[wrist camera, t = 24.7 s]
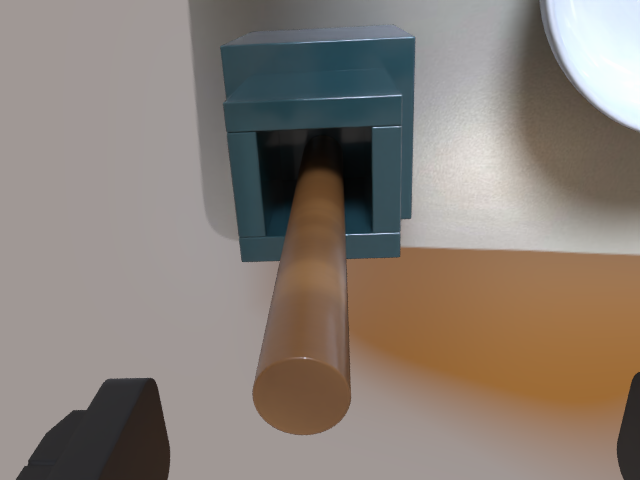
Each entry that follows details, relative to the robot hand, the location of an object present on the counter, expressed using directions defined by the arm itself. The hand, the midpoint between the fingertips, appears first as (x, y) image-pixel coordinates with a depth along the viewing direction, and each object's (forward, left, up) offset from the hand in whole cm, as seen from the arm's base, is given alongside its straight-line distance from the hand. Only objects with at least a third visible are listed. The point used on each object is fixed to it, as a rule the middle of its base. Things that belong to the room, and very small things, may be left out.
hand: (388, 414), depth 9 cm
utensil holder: (+1, -2, -33) cm, 33 cm away
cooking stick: (+2, -2, -22) cm, 22 cm away
